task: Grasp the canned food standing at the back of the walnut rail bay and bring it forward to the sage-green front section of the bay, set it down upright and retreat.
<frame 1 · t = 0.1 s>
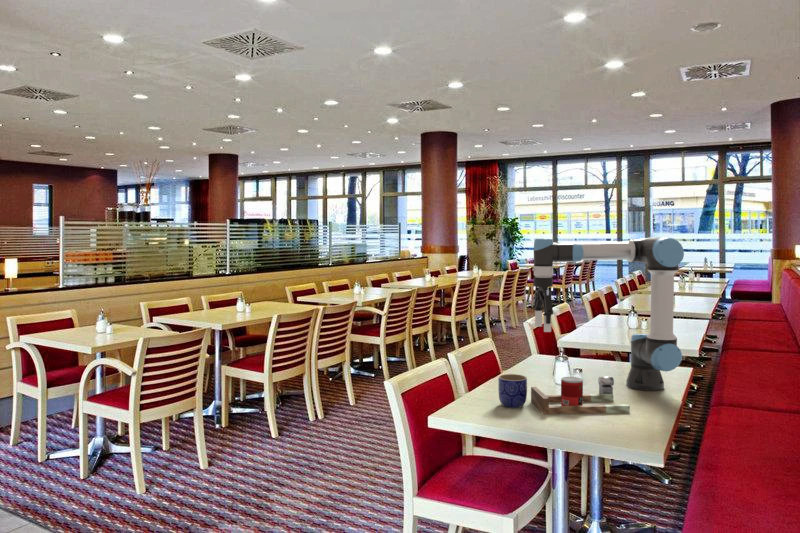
hand: (542, 329, 245), 28 cm above the table, fingers open, 13 cm apart
planter: (512, 406, 235), on the table
winch: (605, 397, 245), on the table
canned food: (571, 407, 232), on the table
bay: (579, 406, 233), on the table
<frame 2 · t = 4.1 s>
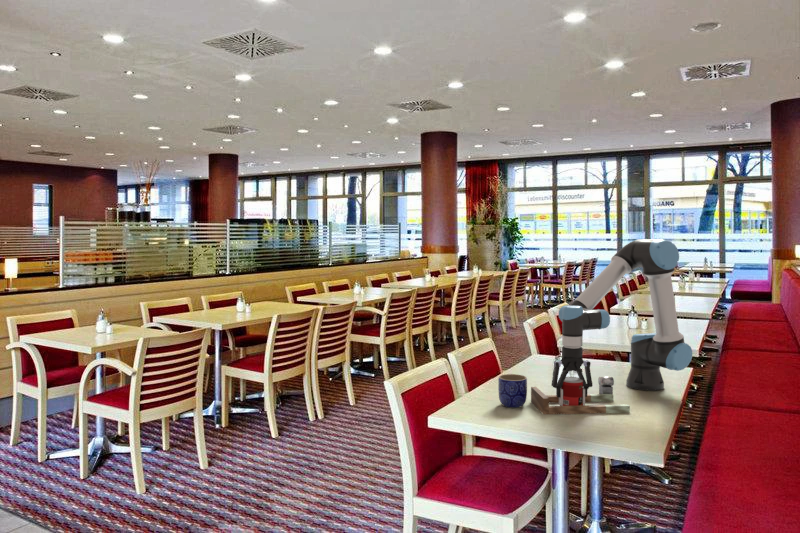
hand: (571, 405, 232), 1 cm above the table, fingers closed on canned food, 8 cm apart
canned food: (571, 407, 232), on the table, touching gripper
everything else where it was.
when the fingers open (2 cm above the table, at t = 10.2 s): canned food stays where it is, on the table.
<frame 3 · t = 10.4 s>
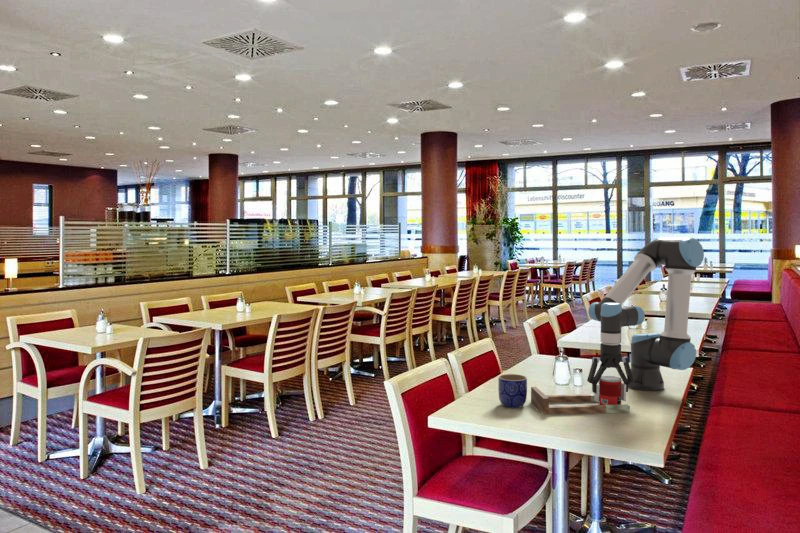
hand: (610, 400, 233), 2 cm above the table, fingers open, 10 cm apart
canned food: (610, 406, 233), on the table
everything else where it was.
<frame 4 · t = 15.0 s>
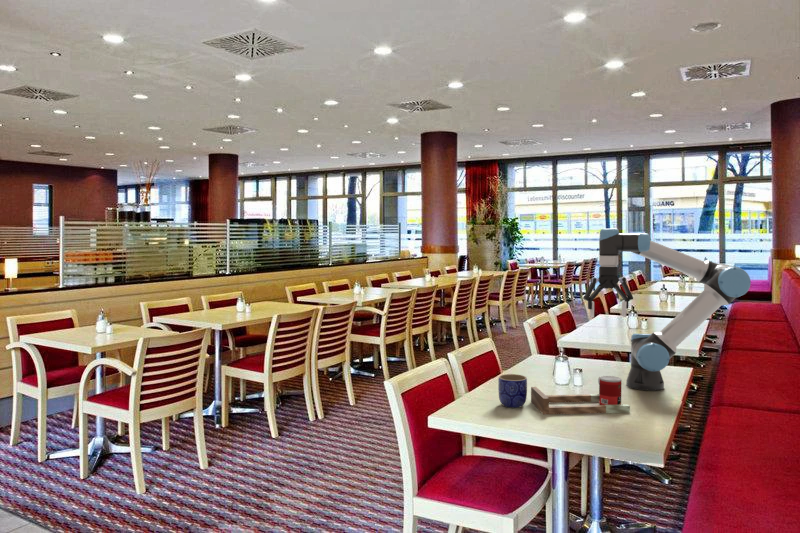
hand: (608, 317, 252), 32 cm above the table, fingers open, 13 cm apart
nothing on the table moved.
at the end: canned food inside the target area (0.6 cm from its centre), on the table; canned food tilted 0°; the gripper is holding nothing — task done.
